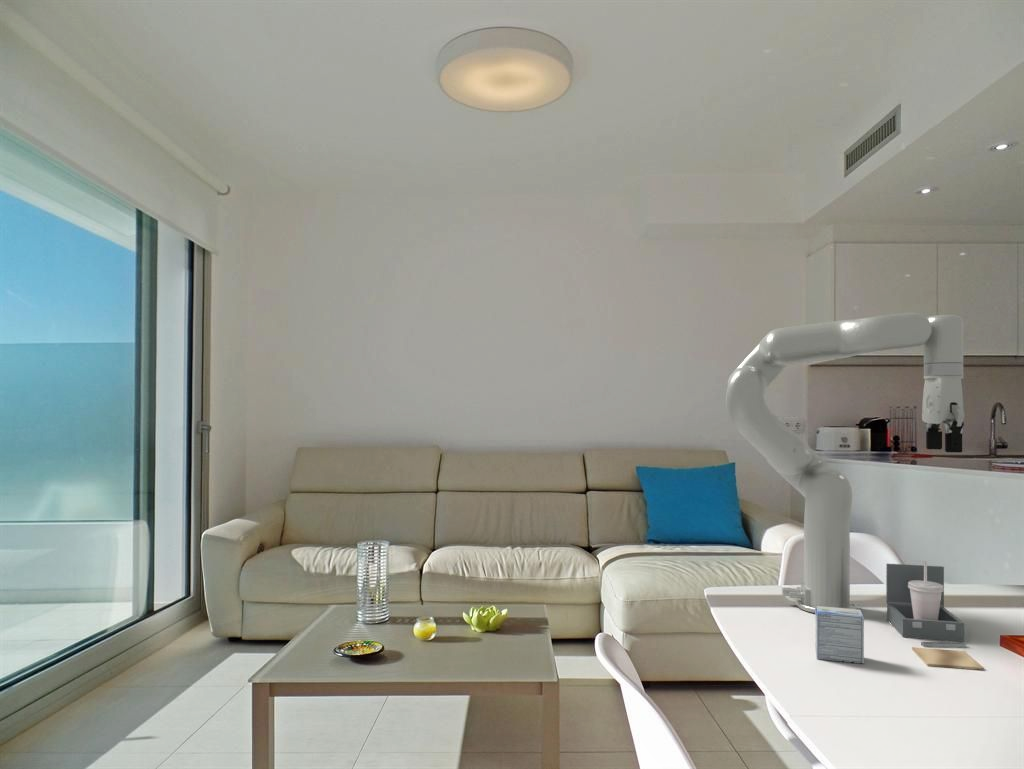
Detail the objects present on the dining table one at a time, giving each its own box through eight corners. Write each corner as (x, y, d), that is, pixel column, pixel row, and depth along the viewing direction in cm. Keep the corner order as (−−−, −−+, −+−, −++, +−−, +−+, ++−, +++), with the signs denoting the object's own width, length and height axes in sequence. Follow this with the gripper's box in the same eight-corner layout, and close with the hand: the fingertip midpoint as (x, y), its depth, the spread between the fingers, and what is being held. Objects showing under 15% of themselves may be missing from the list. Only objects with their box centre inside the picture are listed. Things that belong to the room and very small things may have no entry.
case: (903, 637, 149) (903, 577, 149) (886, 619, 162) (886, 563, 162) (965, 641, 147) (965, 580, 147) (942, 623, 159) (942, 566, 159)
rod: (923, 648, 144) (923, 643, 144) (921, 647, 145) (921, 641, 145) (966, 649, 144) (966, 644, 144) (963, 647, 145) (963, 642, 145)
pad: (927, 665, 133) (927, 663, 133) (911, 649, 142) (911, 647, 142) (983, 670, 131) (983, 667, 131) (964, 653, 140) (964, 651, 140)
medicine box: (861, 657, 138) (861, 609, 138) (864, 665, 134) (864, 615, 134) (814, 651, 140) (815, 605, 141) (816, 659, 136) (816, 611, 136)
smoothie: (942, 629, 155) (942, 561, 155) (945, 638, 149) (945, 567, 149) (906, 625, 157) (906, 557, 158) (908, 634, 152) (908, 564, 152)
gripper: (909, 373, 174) (909, 447, 173) (942, 370, 157) (942, 453, 156) (944, 373, 173) (944, 448, 172) (980, 370, 156) (981, 453, 155)
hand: (943, 450), depth 164 cm, fingers open, 9 cm apart
